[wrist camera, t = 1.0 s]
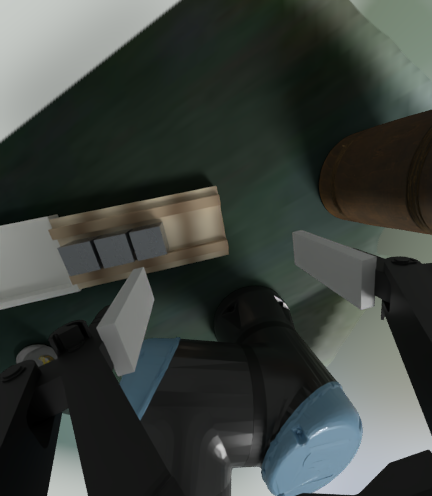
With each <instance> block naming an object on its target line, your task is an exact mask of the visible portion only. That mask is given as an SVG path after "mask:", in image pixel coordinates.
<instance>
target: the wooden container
mask: <svg viewBox="0 0 432 496" xmlns="http://www.w3.org/2000/svg"><path fill="white" fill-rule="evenodd" d="M319 192H320V196H321V200H322V202H323V204H324V206H325V208H326V209H327V210H328V211H329V212H330V213H331V214H332V215H334V216H335V217H337V218H340V219H344V220H349V221H354V222H359V223H363V224H368V225H374V226H380V227H387V228H394V229H401V230H406V231H413V232H418V233H424V234H431V235H432V110H429V111H425V112H422V113H418V114H415V115H411V116H407V117H404V118H401V119H398V120H394V121H391V122H388V123H385V124H382V125H378V126H375V127H373V128H370V129H367V130H363V131H360V132H357V133H355V134H352V135H350V136H348V137H346V138H344V139H343V140H341V141H340V142H339V143H338V144H337V145H336V146H335V147H334V148H333V149H332V150H331V151H330V153H329V154H328V156H327V158H326V159H325V161H324V164H323V166H322V169H321V173H320V178H319Z"/></svg>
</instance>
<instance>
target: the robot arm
mask: <svg viewBox="0 0 432 496" xmlns="http://www.w3.org/2000/svg"><path fill="white" fill-rule="evenodd" d="M292 234H293V246H294V258H295V265H297V266H298V267H300V268H301V269H302V270H304V271H305V272H307V273H308V274H310V275H311V276H313V277H314V278H315V279H317V280H318V281H320V282H321V283H323V284H324V285H326V286H327V287H329V288H330V289H331V290H333V291H334V292H336V293H337V294H339V295H340V296H342V297H343V298H345V299H346V300H347V301H349V302H350V303H352V304H353V305H355V306H356V307H358V308H359V309H360V310H362V309H366V308H369V307H373V306H374V304H375V296H377V297H379V298H381V299H382V309H381V320H384V317H386V319H387V322H388V324H389V327H390V329H391V332H392V335H393V337H394V339H395V342H396V345H397V347H398V350H399V353H400V355H401V358H402V360H403V363H404V365H405V368H406V370H407V373H408V375H409V378H410V381H411V383H412V386H413V388H414V391H415V394H416V396H417V399H418V401H419V404H420V406H421V409H422V412H423V414H424V416H425V419H426V422H427V424H428V427H429V429H430V432H431V435H432V263H426V264H421V263H420V262H419V261H418V260H416V259H413V258H408V257H390V258H386V259H384V258H381V257H378V256H375V255H372V254H368V253H367V252H364V251H363V252H362V251H361V250H358V249H355V248H350V247H348V246H345V245H342V244H339V243H336V242H334V241H331V240H328V239H325V238H322V237H320V236H317V235H314V234H311V233H308V232H306V231H303V230H300V231H295V232H292ZM153 302H154V296H153V293H152V290H151V287H150V284H149V281H148V278H147V275H146V272H145V269H144V267H141V268H137V269H133V271H132V272H131V274H130V275H129V277H128V279H127V280H126V282H125V283H124V285H123V286H122V288H121V290H120V291H119V293H118V294H117V296H116V297H115V299H114V301H113V302H112V304H111V305H109V306H106V307H104V308H103V309H102V310H101V311H100V312H99V313H98V314H97V316H96V317H95V319H94V320H93V321H92V323H91V324H90V326H89V327H88V326H87V324H86V321H84V320H76V321H72V322H70V323H68V324H65V325H64V326H62V327H60V328H58V329H57V330H56V331H54V332H53V333H52V334H51V335H50V337H49V340H48V341H49V342H50V344H51V346H52V348H53V350H54V352H55V353H56V355H57V359H55V360H53V361H51V362H49V363H46V364H44V365H42V366H40V367H38V366H37V364H36V362H35V361H34V360H25V361H22V362H20V363H18V364H16V365H13V366H11V367H9V368H8V369H6V370H5V371H3V372H2V373H1V374H0V496H47V493H48V487H49V482H50V477H51V471H52V466H53V460H54V455H55V449H56V443H57V438H58V433H59V427H60V422H61V416H62V411H64V410H66V409H68V408H69V412H70V416H71V421H72V425H73V430H74V434H75V439H76V443H77V448H78V452H79V457H80V461H81V466H82V470H83V474H84V479H85V484H86V488H87V493H88V496H231V471H232V468H238V467H256V466H257V467H260V468H261V469H262V471H261V474H262V478H263V480H264V482H265V483H266V485H267V487H268V489H269V490H270V492H271V493H272V494H274V495H275V496H432V453H431V451H430V450H426V451H423V452H420V453H417V454H414V455H411V456H408V457H406V458H403V459H400V460H397V461H394V462H391V463H389V464H388V465H387V466H386V467H385V468H384V469H383V470H382V471H381V472H380V473H379V474H378V475H377V476H376V477H375V478H374V479H373V480H372V481H371V482H370V483H369V484H368V485H367V486H366V487H365V488H364V489H363V490H362V491H361V492H360V493H359V494H357V495H336V494H316V493H313V492H315V491H317V490H318V489H320V488H322V487H323V486H325V485H326V484H328V483H329V482H331V481H332V480H333V479H334V478H335V477H336V476H338V475H339V474H340V473H341V472H342V471H343V470H344V469H345V468H346V466H347V465H348V464H349V463H350V462H351V460H352V459H353V457H354V456H355V454H356V452H357V450H358V448H359V446H360V443H361V439H362V433H363V429H362V422H361V419H360V416H359V414H358V412H357V410H356V409H355V407H354V406H353V404H352V403H351V402H350V400H349V399H348V397H347V396H346V395H345V393H344V392H343V389H342V386H341V385H340V384H339V383H338V382H337V381H336V380H335V379H334V377H333V376H332V375H331V374H330V373H329V372H328V370H327V369H326V368H325V366H324V365H323V364H322V363H321V361H320V360H319V359H318V358H317V356H316V355H315V354H314V353H313V352H312V350H311V349H310V348H309V347H308V345H307V344H306V343H305V342H304V340H303V339H302V338H301V337H300V336H299V334H298V333H297V332H296V330H295V327H294V324H293V321H292V317H291V314H290V310H289V308H288V306H287V304H286V303H285V302H284V300H283V299H282V298H281V297H280V296H279V295H278V294H277V293H276V292H275V291H273V290H271V289H269V288H266V287H262V286H248V287H244V288H241V289H238V290H236V291H234V292H233V293H231V294H230V295H228V296H227V297H226V298H225V299H224V300H223V301H222V302H221V304H220V305H219V307H218V308H217V310H216V313H215V316H214V330H215V335H216V339H217V341H218V342H215V341H202V340H189V339H180V337H176V338H149V339H146V340H144V341H143V339H144V335H145V332H146V328H147V324H148V321H149V317H150V313H151V310H152V306H153ZM113 367H114V369H115V371H116V373H117V375H118V376H121V375H123V376H122V378H121V381H120V383H118V381H117V379H116V377H115V375H114V374H113V372H112V370H113Z"/></svg>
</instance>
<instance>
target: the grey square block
mask: <svg viewBox="0 0 432 496" xmlns="http://www.w3.org/2000/svg"><path fill="white" fill-rule="evenodd" d="M132 230H133V228H130V229H126V230H121V231H116V232H112V233H107V234H104V235H102V236H100V237H99V238H97V239H95V240H94V243H95V246H96V248H97V251H98V253H99V256H100V259H101V261H102V264H103V266H104V269H105V268H110V267H114V266H118V265H123V264H127V263H132V262H135V260H136V259H137V256H136V253H135V250H134V247H133V244H132V241H131V238H130V235H129V232H130V231H132Z"/></svg>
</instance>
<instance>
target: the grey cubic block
mask: <svg viewBox="0 0 432 496" xmlns="http://www.w3.org/2000/svg"><path fill="white" fill-rule="evenodd" d="M100 236H102V235H97V236H93V237H88V238H83V239H79V240H74V241H71V242H69V243H67V244H65V245H63V246H61V247H59V248H57V249H58V251H59V254H60V256H61V258H62V260H63V263H64V265H65V267H66V269H67V272H68V274H69V276H74V275H79V274H83V273H87V272H92V271H96V270H101V269H102V268H103V267H104V266H103V264H102V261H101V259H100V256H99V253H98V251H97V248H96V246H95V243H94V240H95V239H97V238H99V237H100Z"/></svg>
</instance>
